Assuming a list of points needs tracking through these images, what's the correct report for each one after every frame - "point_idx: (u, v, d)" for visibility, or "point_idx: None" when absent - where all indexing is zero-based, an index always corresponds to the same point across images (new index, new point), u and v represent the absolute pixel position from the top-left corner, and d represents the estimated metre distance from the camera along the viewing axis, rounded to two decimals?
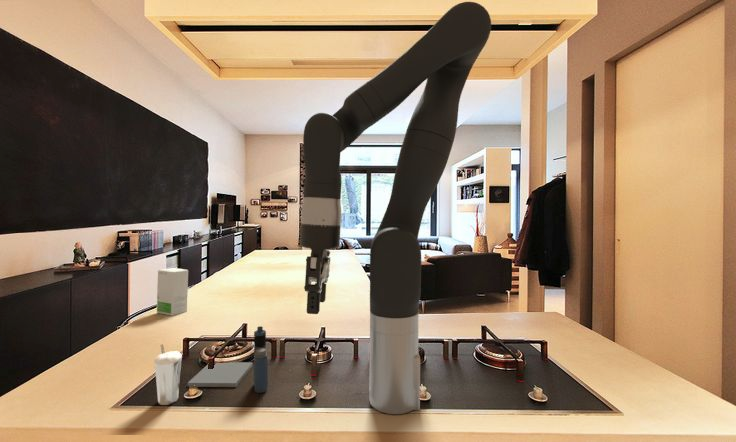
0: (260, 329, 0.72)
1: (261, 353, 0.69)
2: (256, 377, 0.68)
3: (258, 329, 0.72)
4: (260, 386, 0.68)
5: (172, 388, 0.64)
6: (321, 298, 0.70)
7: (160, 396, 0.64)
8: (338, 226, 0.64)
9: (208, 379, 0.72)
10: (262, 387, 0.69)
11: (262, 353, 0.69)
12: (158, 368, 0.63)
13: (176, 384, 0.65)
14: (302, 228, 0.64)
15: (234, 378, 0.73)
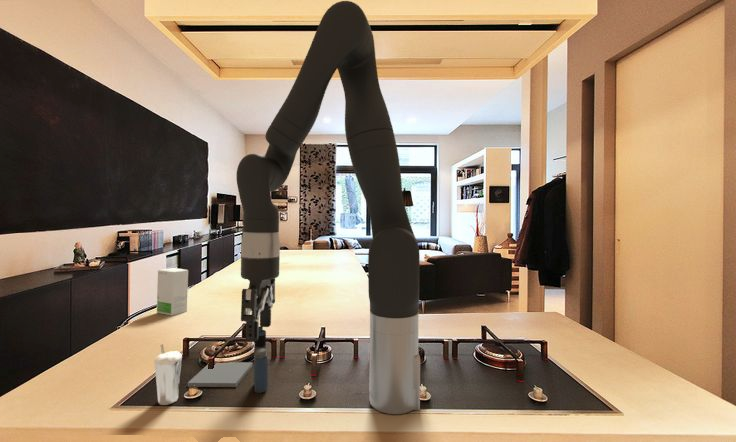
0: (260, 329, 0.72)
1: (261, 353, 0.69)
2: (256, 377, 0.68)
3: None
4: (260, 386, 0.68)
5: (172, 388, 0.64)
6: (266, 323, 0.75)
7: (160, 396, 0.64)
8: (275, 258, 0.69)
9: (208, 379, 0.72)
10: (262, 387, 0.69)
11: (262, 353, 0.69)
12: (158, 368, 0.63)
13: (176, 384, 0.65)
14: (241, 261, 0.68)
15: (234, 378, 0.73)
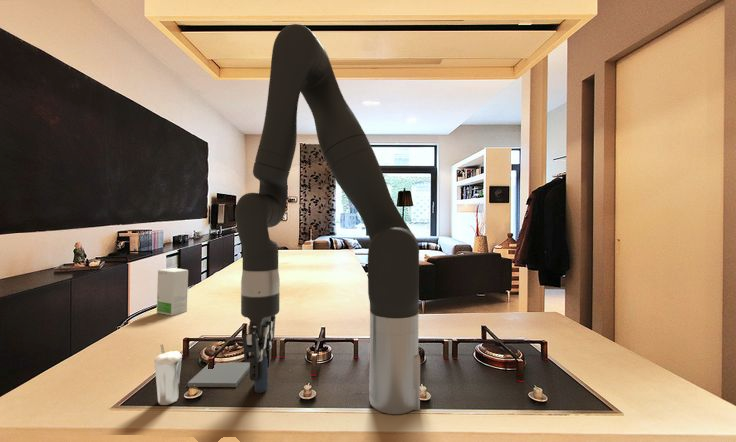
0: None
1: None
2: None
3: None
4: (260, 386, 0.68)
5: (172, 388, 0.64)
6: None
7: (160, 396, 0.64)
8: (275, 295, 0.69)
9: (208, 379, 0.72)
10: (262, 387, 0.69)
11: None
12: (158, 368, 0.63)
13: (176, 384, 0.65)
14: (241, 299, 0.69)
15: (234, 378, 0.73)
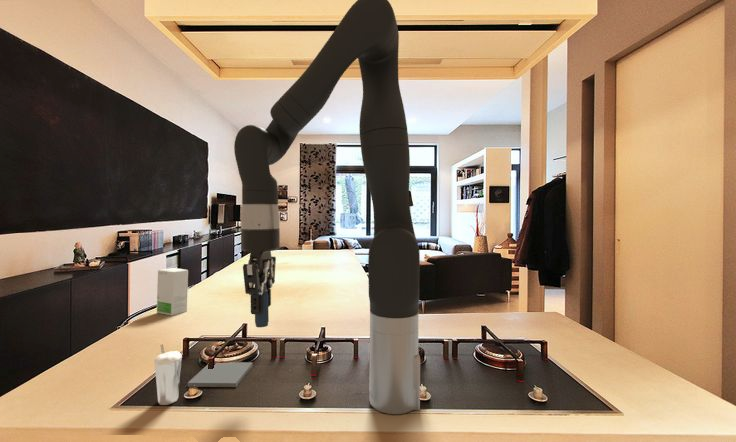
0: None
1: None
2: None
3: None
4: (261, 320, 0.68)
5: (172, 388, 0.64)
6: None
7: (160, 396, 0.64)
8: (275, 229, 0.69)
9: (208, 379, 0.72)
10: (263, 321, 0.68)
11: None
12: (158, 368, 0.63)
13: (176, 384, 0.65)
14: (241, 233, 0.68)
15: (234, 378, 0.73)
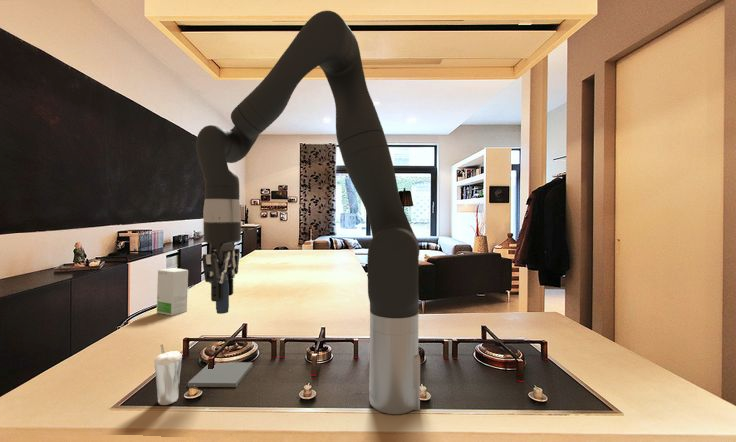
0: None
1: None
2: None
3: None
4: (221, 307, 0.73)
5: (172, 388, 0.64)
6: None
7: (160, 396, 0.64)
8: (235, 222, 0.74)
9: (208, 379, 0.72)
10: (223, 308, 0.73)
11: (223, 277, 0.74)
12: (158, 368, 0.63)
13: (176, 384, 0.65)
14: None
15: (234, 378, 0.73)
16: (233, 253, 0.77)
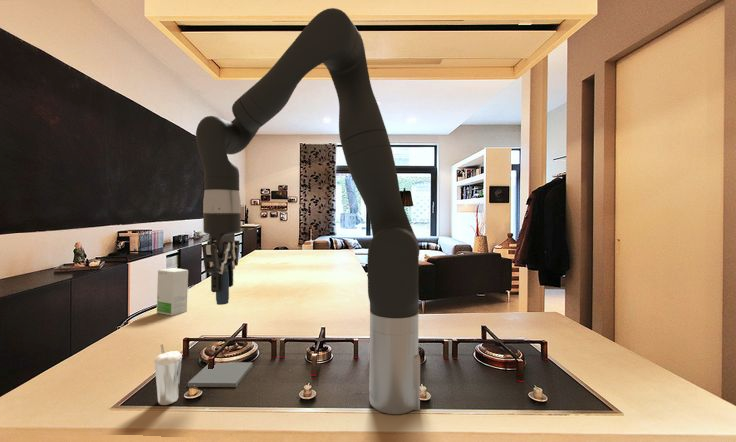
0: None
1: None
2: None
3: None
4: (221, 298, 0.73)
5: (172, 388, 0.64)
6: None
7: (160, 396, 0.64)
8: (235, 213, 0.74)
9: (208, 379, 0.72)
10: (223, 299, 0.73)
11: (223, 268, 0.74)
12: (158, 368, 0.63)
13: (176, 384, 0.65)
14: (203, 217, 0.73)
15: (234, 378, 0.73)
16: (233, 244, 0.77)
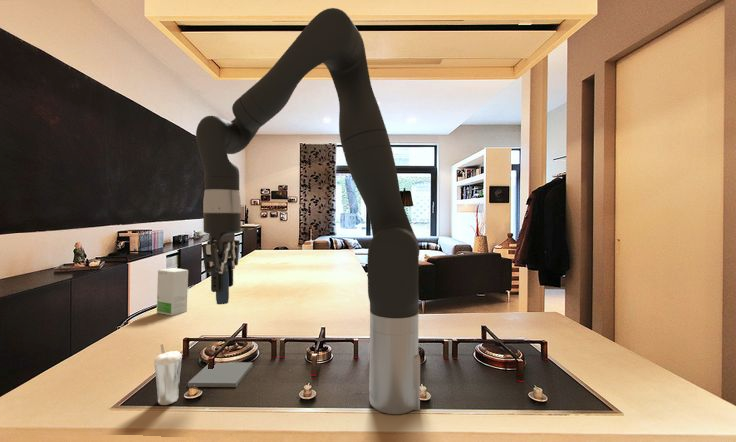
0: None
1: None
2: None
3: None
4: (221, 298, 0.73)
5: (172, 388, 0.64)
6: None
7: (160, 396, 0.64)
8: (235, 213, 0.74)
9: (208, 379, 0.72)
10: (223, 299, 0.73)
11: None
12: (158, 368, 0.63)
13: (176, 384, 0.65)
14: (203, 216, 0.73)
15: (234, 378, 0.73)
16: (233, 244, 0.77)
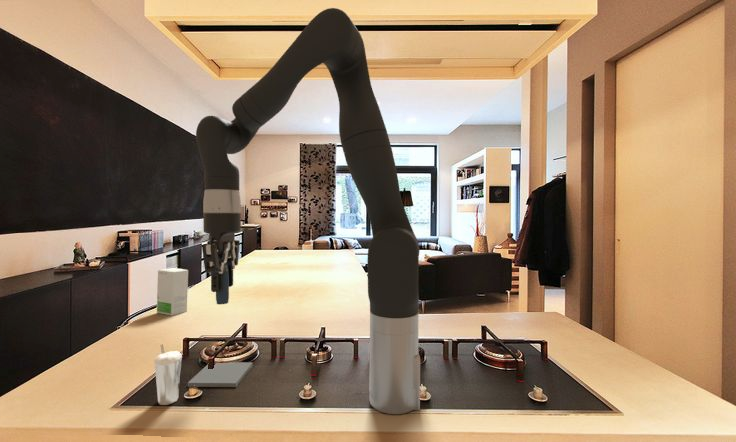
0: None
1: None
2: None
3: None
4: (221, 298, 0.73)
5: (172, 388, 0.64)
6: None
7: (160, 396, 0.64)
8: (235, 213, 0.74)
9: (208, 379, 0.72)
10: (223, 299, 0.73)
11: None
12: (158, 368, 0.63)
13: (176, 384, 0.65)
14: (203, 216, 0.73)
15: (234, 378, 0.73)
16: (233, 244, 0.77)
